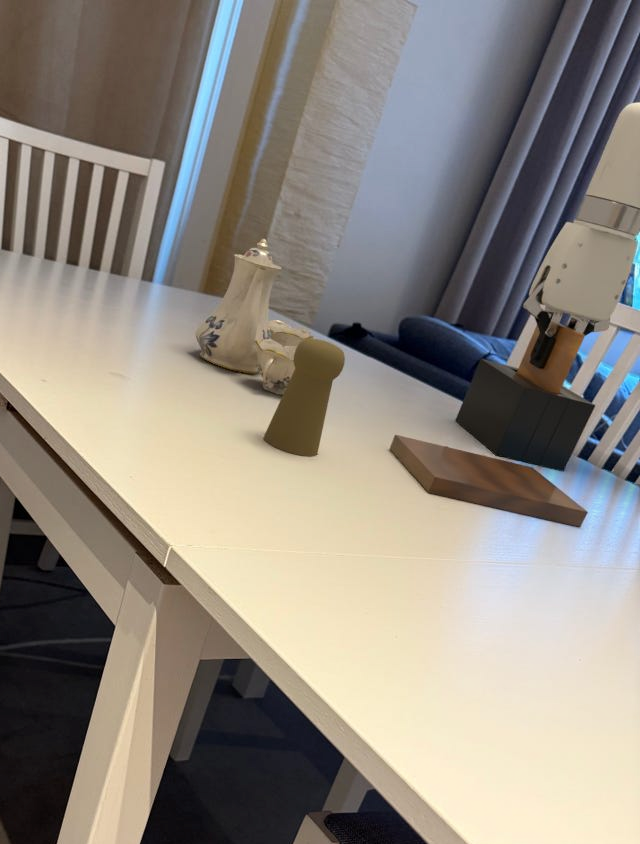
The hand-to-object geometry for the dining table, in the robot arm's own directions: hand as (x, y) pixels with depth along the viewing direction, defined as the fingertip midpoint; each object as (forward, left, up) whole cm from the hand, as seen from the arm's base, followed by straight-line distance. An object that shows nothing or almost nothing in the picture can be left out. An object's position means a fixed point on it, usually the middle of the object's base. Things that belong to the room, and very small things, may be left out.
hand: (543, 367), depth 122 cm
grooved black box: (0, 0, -11) cm, 11 cm away
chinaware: (+36, -8, -11) cm, 39 cm away
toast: (0, 0, -9) cm, 9 cm away
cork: (+37, +25, -11) cm, 46 cm away
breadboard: (+14, +24, -11) cm, 30 cm away
